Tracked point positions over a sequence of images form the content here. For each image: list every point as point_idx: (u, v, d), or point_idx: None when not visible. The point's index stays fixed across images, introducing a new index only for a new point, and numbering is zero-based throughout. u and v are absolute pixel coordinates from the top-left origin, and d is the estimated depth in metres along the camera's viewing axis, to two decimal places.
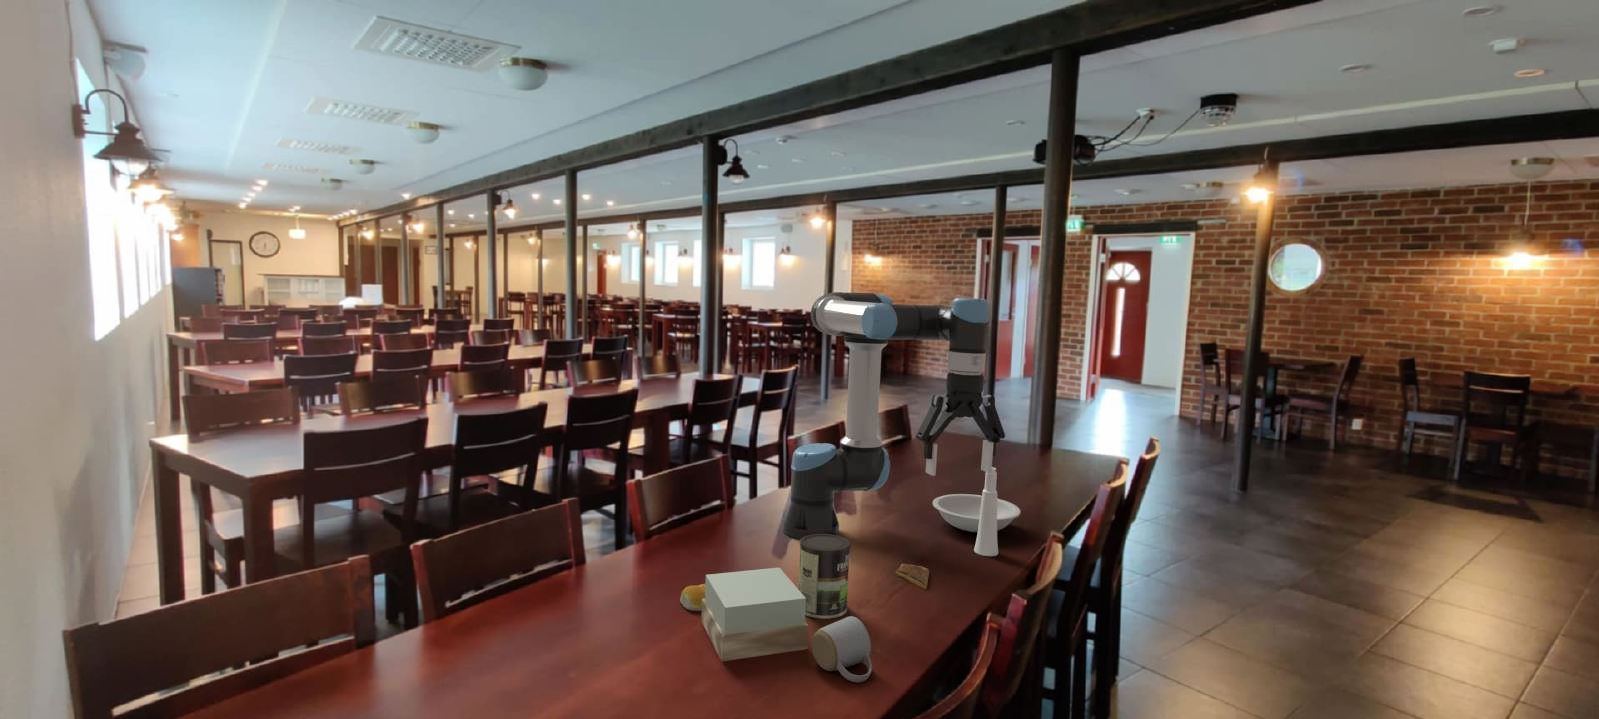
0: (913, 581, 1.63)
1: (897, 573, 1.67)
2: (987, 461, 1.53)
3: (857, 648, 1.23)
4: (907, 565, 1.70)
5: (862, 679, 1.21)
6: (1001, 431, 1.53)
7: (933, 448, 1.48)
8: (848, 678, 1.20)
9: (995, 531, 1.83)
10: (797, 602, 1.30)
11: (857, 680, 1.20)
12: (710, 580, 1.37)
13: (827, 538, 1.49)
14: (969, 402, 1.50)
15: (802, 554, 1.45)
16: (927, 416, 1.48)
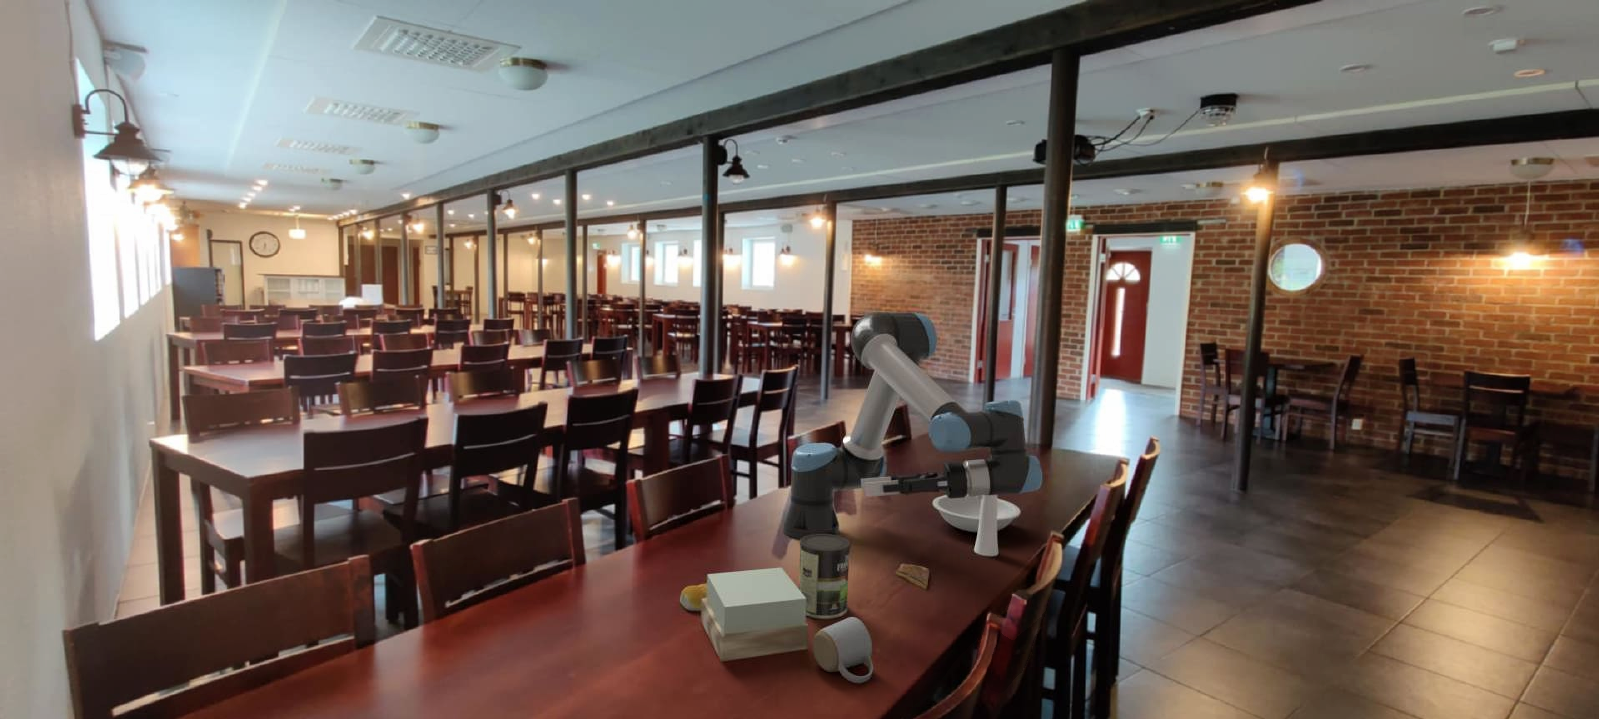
0: (913, 581, 1.63)
1: (897, 573, 1.67)
2: None
3: (858, 649, 1.23)
4: (907, 565, 1.70)
5: (863, 680, 1.20)
6: None
7: (894, 492, 1.44)
8: (849, 679, 1.20)
9: (995, 531, 1.83)
10: (797, 603, 1.30)
11: (858, 681, 1.20)
12: (711, 579, 1.37)
13: (827, 538, 1.49)
14: None
15: (802, 554, 1.45)
16: (926, 483, 1.43)
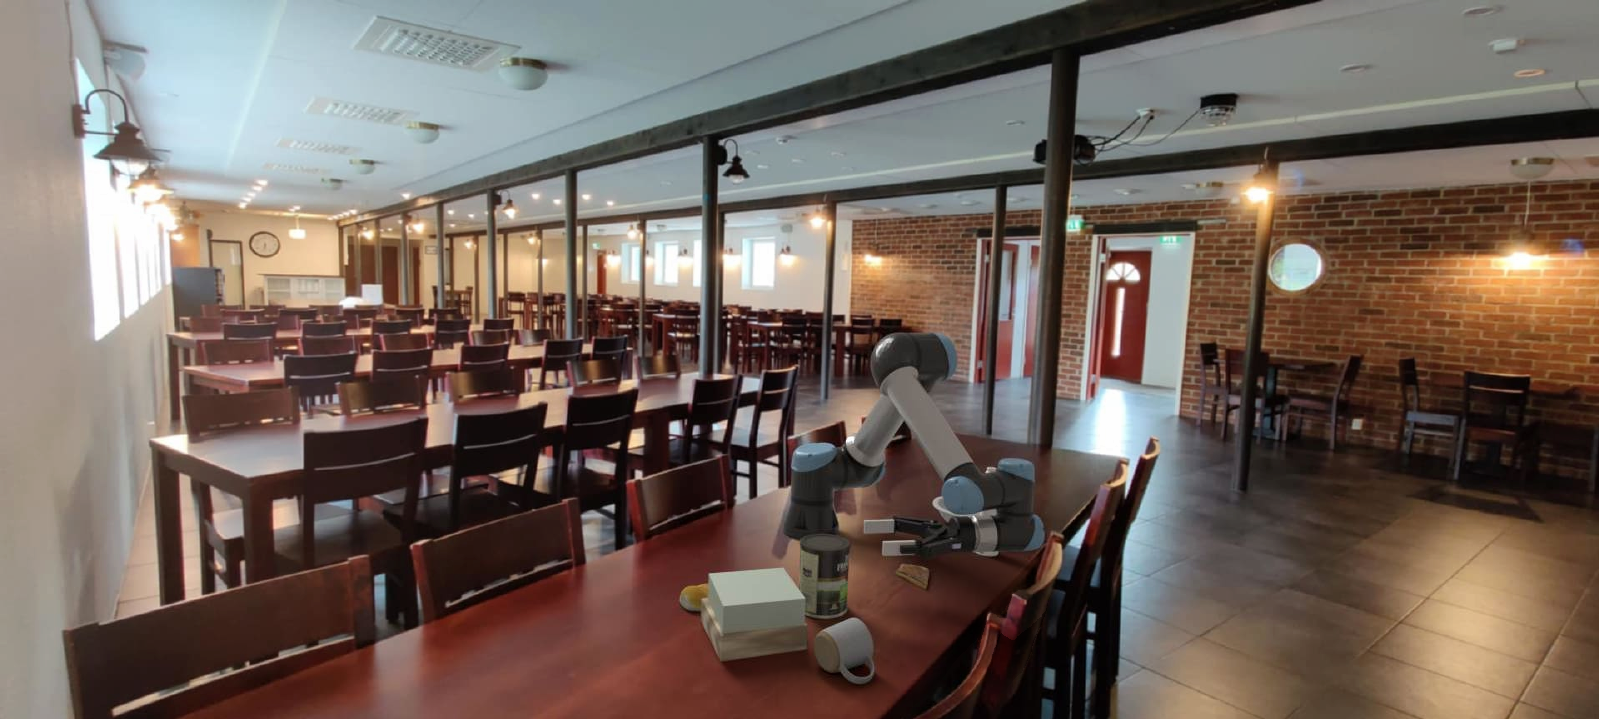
0: (913, 581, 1.63)
1: (897, 573, 1.67)
2: (875, 530, 1.55)
3: (859, 650, 1.23)
4: (907, 565, 1.70)
5: (865, 681, 1.20)
6: None
7: (910, 553, 1.42)
8: (850, 679, 1.20)
9: None
10: (796, 603, 1.30)
11: (859, 682, 1.20)
12: (712, 579, 1.37)
13: (827, 538, 1.49)
14: None
15: (802, 554, 1.45)
16: (943, 546, 1.43)
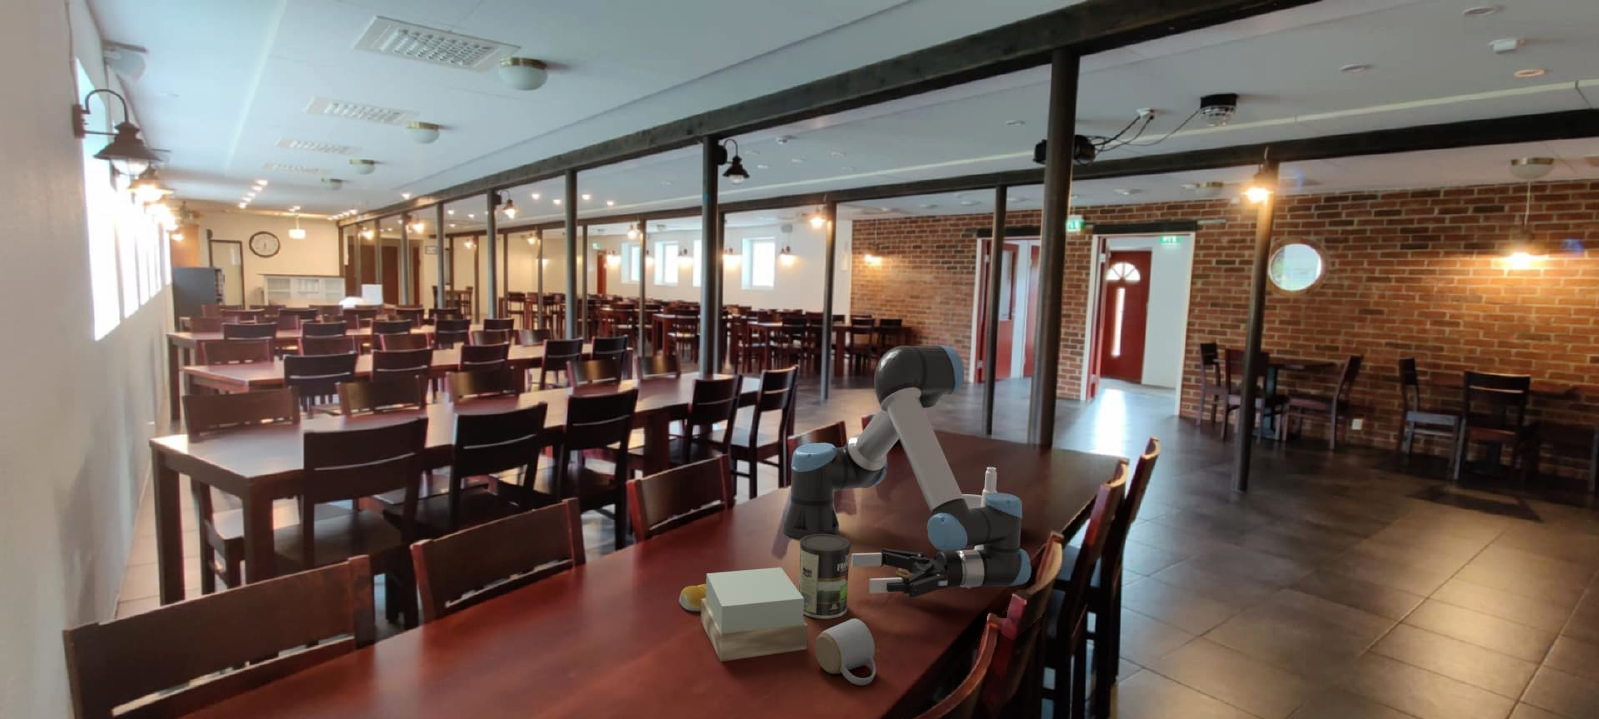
0: None
1: (897, 573, 1.67)
2: (862, 564, 1.56)
3: (861, 651, 1.22)
4: None
5: (866, 682, 1.20)
6: None
7: None
8: (852, 681, 1.20)
9: None
10: (794, 602, 1.30)
11: (860, 683, 1.19)
12: (710, 579, 1.37)
13: (827, 538, 1.49)
14: None
15: (802, 554, 1.45)
16: (930, 584, 1.43)
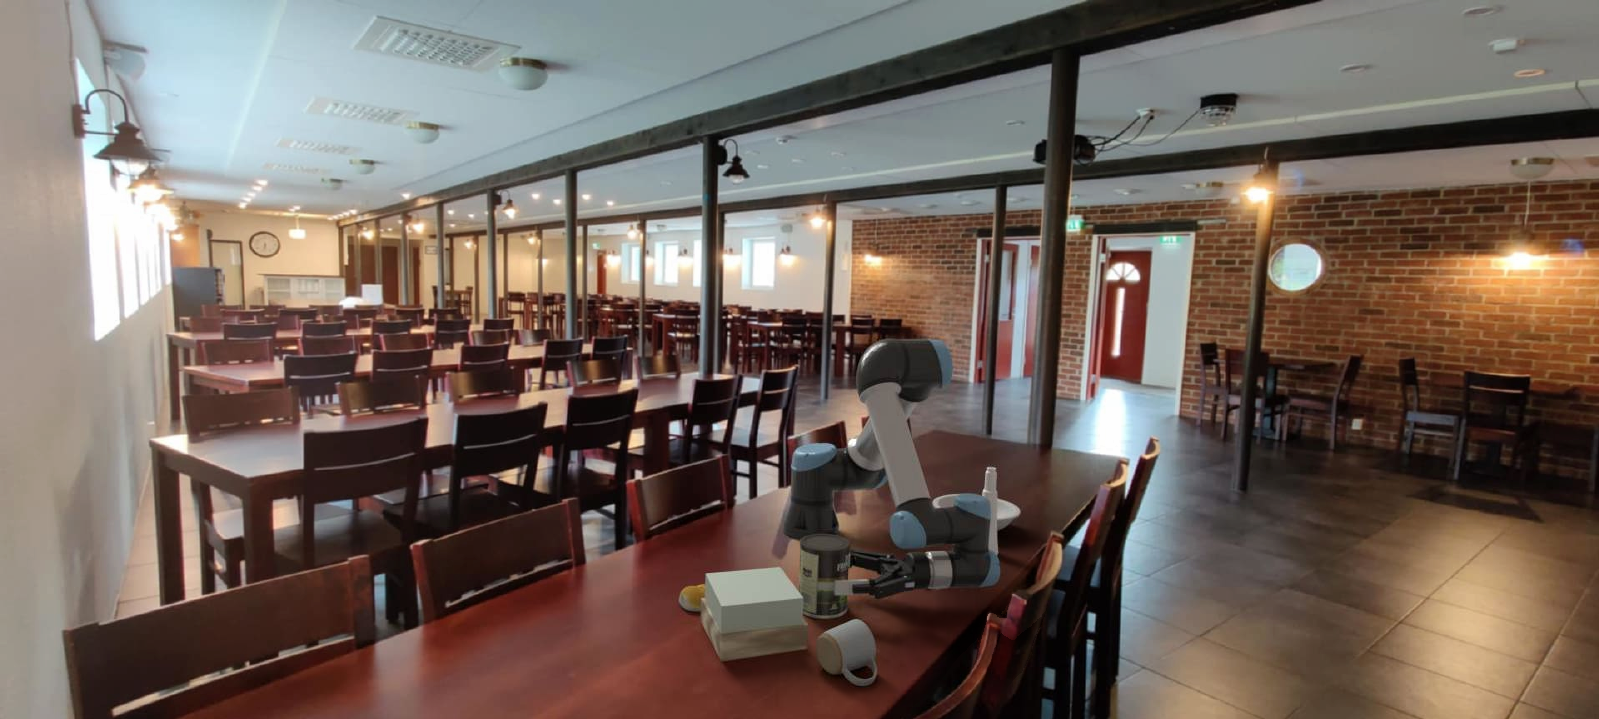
0: None
1: None
2: None
3: (862, 651, 1.22)
4: None
5: (867, 683, 1.20)
6: None
7: None
8: (853, 681, 1.19)
9: (995, 531, 1.83)
10: (794, 602, 1.30)
11: (862, 684, 1.19)
12: (709, 579, 1.37)
13: (827, 538, 1.49)
14: None
15: (802, 554, 1.45)
16: (896, 586, 1.42)
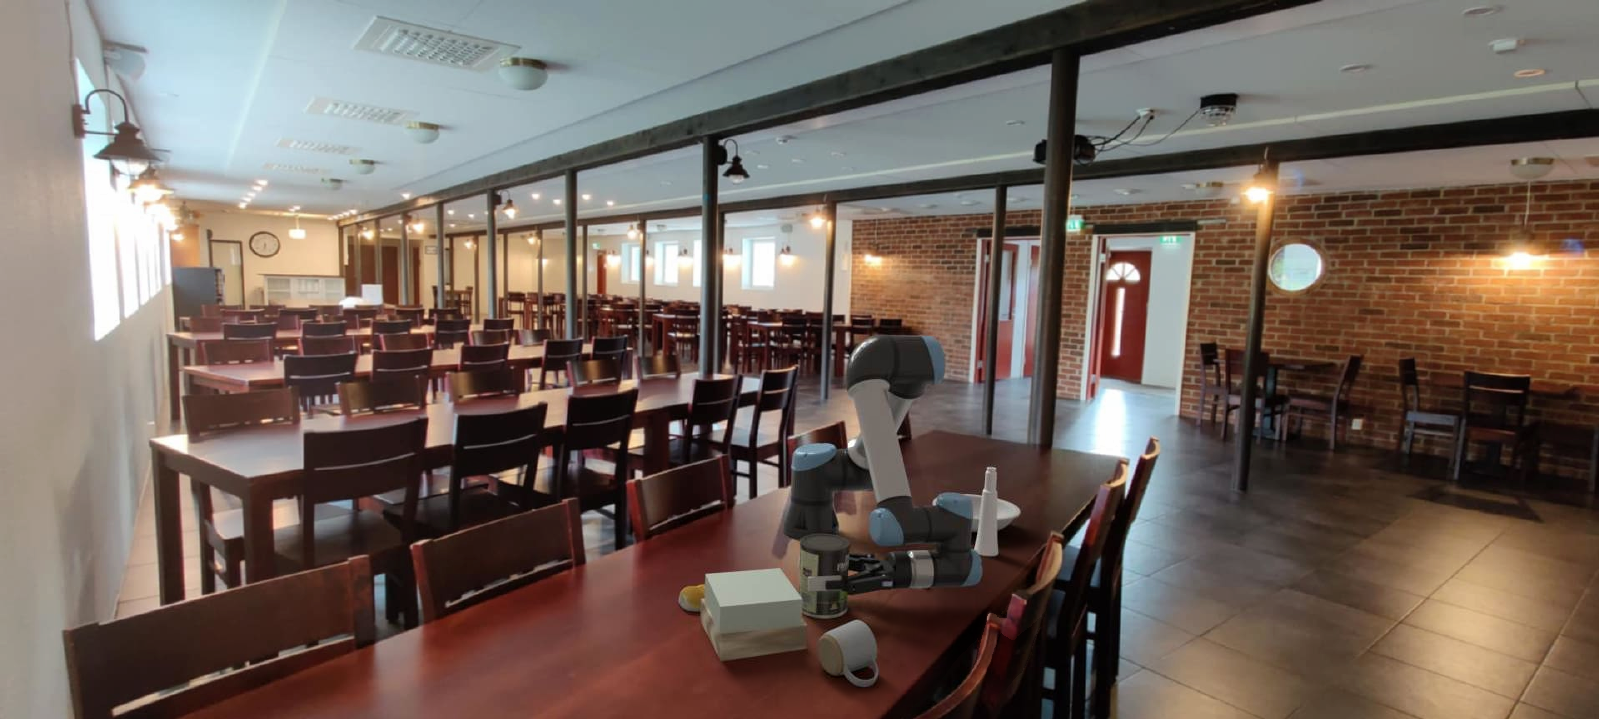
0: None
1: None
2: None
3: (863, 652, 1.22)
4: None
5: (868, 684, 1.19)
6: None
7: None
8: (854, 682, 1.19)
9: (995, 531, 1.83)
10: (793, 603, 1.30)
11: (863, 685, 1.19)
12: (709, 579, 1.37)
13: (827, 538, 1.49)
14: None
15: (802, 554, 1.45)
16: (871, 583, 1.42)
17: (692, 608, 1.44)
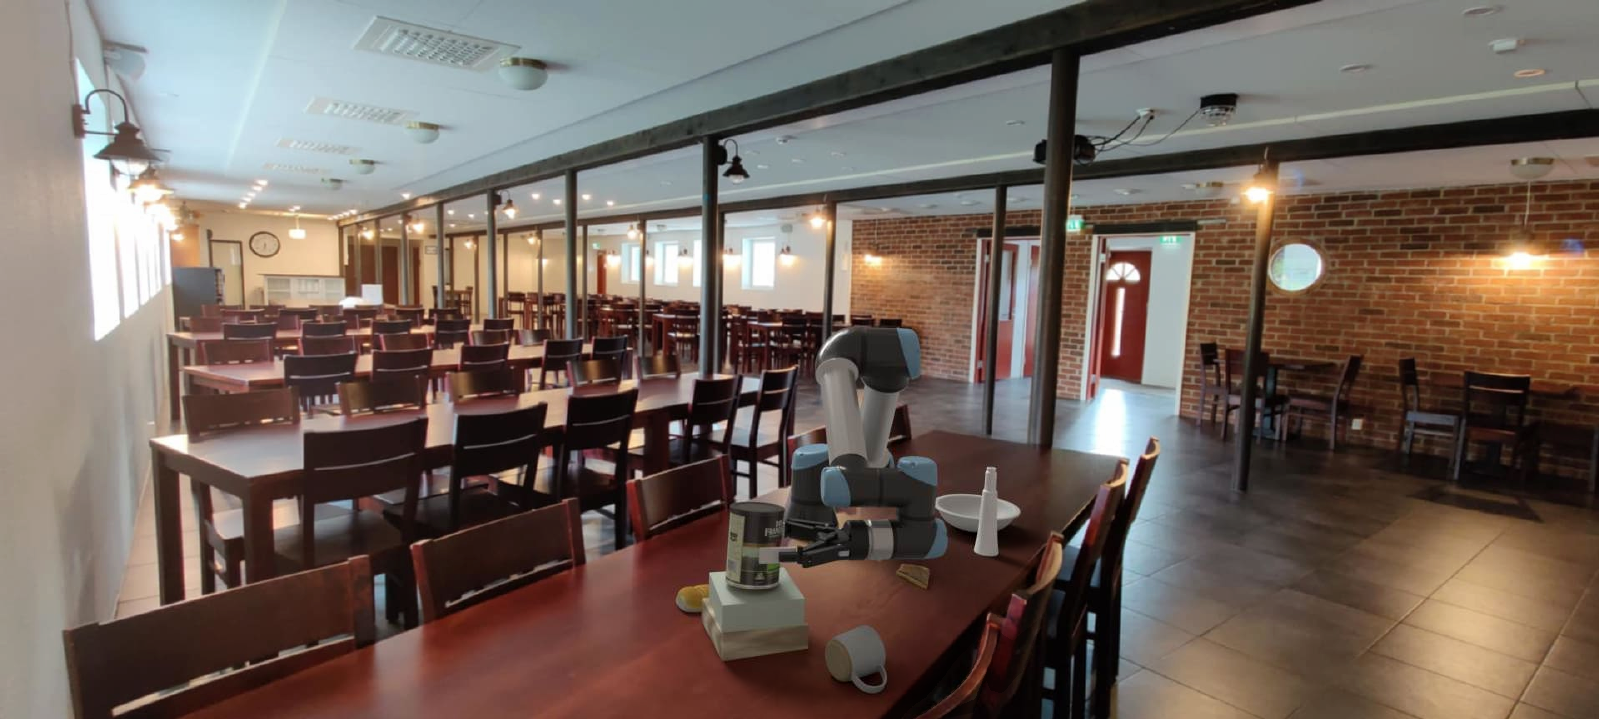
0: (914, 581, 1.63)
1: (898, 573, 1.67)
2: None
3: (872, 658, 1.20)
4: (907, 565, 1.70)
5: (877, 690, 1.17)
6: None
7: None
8: (863, 689, 1.17)
9: (995, 531, 1.83)
10: (795, 603, 1.30)
11: (871, 691, 1.17)
12: (713, 578, 1.38)
13: (762, 505, 1.38)
14: None
15: (730, 517, 1.34)
16: (827, 554, 1.28)
17: (690, 609, 1.44)
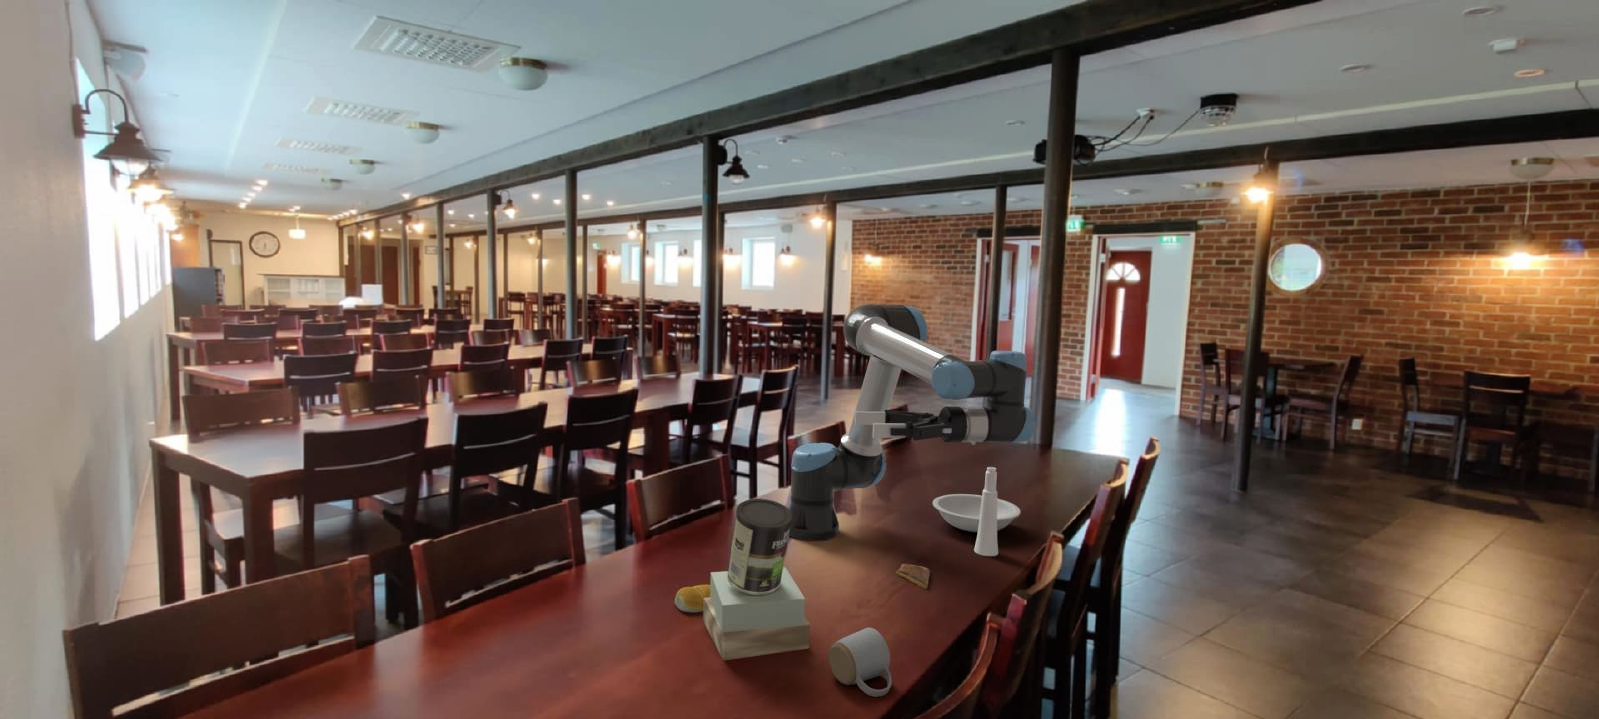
0: (914, 581, 1.63)
1: (898, 573, 1.67)
2: (866, 421, 1.55)
3: (876, 661, 1.19)
4: (908, 565, 1.70)
5: (882, 693, 1.17)
6: None
7: (901, 436, 1.42)
8: (867, 692, 1.16)
9: (995, 531, 1.83)
10: (796, 603, 1.30)
11: (876, 694, 1.16)
12: (714, 578, 1.38)
13: (768, 507, 1.33)
14: None
15: (736, 524, 1.30)
16: (934, 430, 1.42)
17: (688, 609, 1.44)
